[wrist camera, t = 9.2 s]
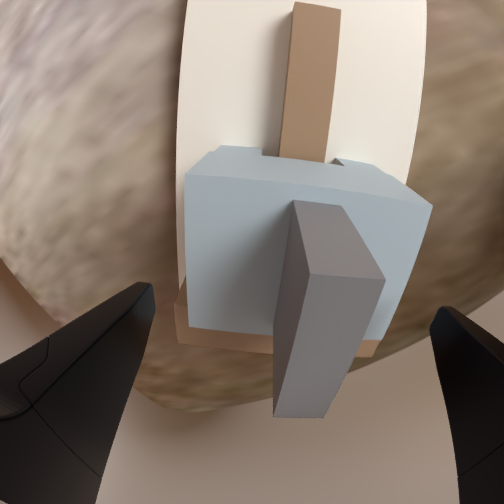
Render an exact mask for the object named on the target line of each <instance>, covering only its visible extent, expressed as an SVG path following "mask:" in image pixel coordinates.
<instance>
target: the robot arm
mask: <svg viewBox="0 0 504 504" xmlns="http://www.w3.org/2000/svg"><path fill="white" fill-rule="evenodd" d="M154 314H155V301H154V293H153V287H152V285H151V284H150V283H146V282H136V283H135V284H133V285H131V286H130V287H128V288H126V289H125V290H123V291H121V292H119V293H118V294H116V295H114V296H113V297H111V298H109V299H108V300H106V301H104V302H103V303H101V304H99V305H98V306H96V307H94V308H93V309H91V310H90V311H88V312H86V313H85V314H83V315H81V316H80V317H78V318H76V319H75V320H73V321H72V322H70V323H68V324H67V325H65V326H64V327H62V328H60V329H59V330H57V331H56V332H54V333H52V334H51V335H49V337H46V338H44V339H43V340H41V341H40V342H38V343H36V344H35V345H33V346H32V347H30V348H28V349H26V350H25V351H23V352H21V353H20V354H18V355H16V356H14V357H12V358H11V359H9V360H7V361H5V362H3V363H1V364H0V504H95V502H96V499H97V495H98V491H99V488H100V484H101V480H102V476H103V473H104V470H105V466H106V463H107V460H108V457H109V453H110V450H111V447H112V444H113V441H114V438H115V435H116V431H117V429H118V426H119V423H120V420H121V417H122V413H123V411H124V408H125V405H126V402H127V399H128V397H129V394H130V391H131V388H132V385H133V383H134V380H135V377H136V375H137V372H138V369H139V367H140V364H141V361H142V358H143V355H144V352H145V348H146V344H147V340H148V336H149V332H150V328H151V325H152V321H153V317H154ZM430 336H431V341H432V346H433V351H434V356H435V362H436V367H437V372H438V376H439V380H440V384H441V388H442V392H443V395H444V400H445V405H446V409H447V414H448V419H449V423H450V429H451V434H452V439H453V446H454V452H455V460H456V467H457V476H458V488H459V502H460V504H504V344H503V343H502V342H501V341H499V340H498V339H497V338H495V337H494V336H493V335H491V334H490V333H489V332H487V331H486V330H484V329H483V328H482V327H480V326H479V325H477V324H476V323H474V322H473V321H472V320H470V319H469V318H467V317H466V316H464V315H463V314H462V313H460V312H459V311H457V310H456V309H454V308H453V307H451V306H442V307H440V308H439V309H438V311H437V313H436V315H435V317H434V319H433V321H432V323H431V325H430Z"/></svg>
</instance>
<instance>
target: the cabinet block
mask: <svg viewBox="0 0 504 504" xmlns="http://www.w3.org/2000/svg"><path fill="white" fill-rule="evenodd" d="M432 207H433V206H432V205H431V204H430V203H428V202H427V201H426V200H425V199H423V198H422V197H421V196H419V195H418V194H417V193H415V192H414V191H413V190H411V189H410V188H409V187H407V186H406V185H404V184H403V183H402V182H400V181H399V180H397V179H396V178H395V177H393V176H392V175H390V174H386V173H385V172H383V171H382V170H380V169H379V168H377V167H376V166H375V165H373V164H369V163H364V162H359V161H353V160H347V159H341V158H335V163H334V164H328V163H321V162H314V161H306V160H299V159H291V158H282V157H273V156H263V155H262V148H255V147H243V146H230V145H220V146H219V147H218V148H217V149H216V150H215V151H214V152H210V151H209V152H208V153H207V154H206V155H205V156H204V157H203V158H201V159H200V160H199V161H198V162H197V163H196V164H195V165H194V166H193V167H192V168H191V169H190V170H189V171H187V172H186V173H185V188H184V211H185V261H186V285H187V304H188V320H189V327H195V328H203V329H211V330H220V331H229V332H238V333H249V334H260V335H272V336H273V417H284V418H323V417H324V416H325V414H326V412H327V410H328V408H329V407H330V405H331V403H332V401H333V399H334V397H335V395H336V394H337V391H338V389H339V388H340V386H341V384H342V382H343V380H344V378H345V376H346V374H347V372H348V370H349V368H350V365H351V363H352V361H353V359H354V357H355V355H356V353H357V350H358V348H359V346H360V344H361V342H362V340H382V339H383V337H384V335H385V333H386V330H387V328H388V326H389V324H390V322H391V320H392V317H393V315H394V313H395V311H396V308H397V306H398V304H399V301H400V299H401V296H402V294H403V292H404V289H405V287H406V284H407V282H408V279H409V276H410V274H411V271H412V269H413V266H414V263H415V260H416V257H417V255H418V252H419V249H420V246H421V243H422V240H423V237H424V234H425V231H426V227H427V224H428V221H429V218H430V214H431V211H432Z"/></svg>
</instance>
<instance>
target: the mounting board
mask: <svg viewBox="0 0 504 504" xmlns="http://www.w3.org/2000/svg"><path fill="white" fill-rule="evenodd" d="M425 48H426V0H188V3H187V11H186V19H185V27H184V36H183V46H182V56H181V68H180V81H179V97H178V116H177V143H176V227H177V256H178V275H179V293H178V295H177V298H176V300H175V302H174V316H175V325H176V335H177V343H178V344H185V345H192V346H199V347H207V348H215V349H224V350H233V351H242V352H253V353H265V354H273V336H272V335H260V334H249V333H238V332H229V331H220V330H211V329H203V328H195V327H189V320H188V304H187V285H186V261H185V211H184V188H185V173H186V172H187V171H189V170H190V169H191V168H192V167H193V166H194V165H195V164H196V163H197V162H198V161H199V160H200V159H201V158H203V157H204V156H205V155H206V154H207V153H208V152H209V151H210V152H214V151H215V150H216V149H217V148H218V147H219V146H220V145H230V146H243V147H255V148H262V155H263V156H273V157H282V158H291V159H299V160H306V161H314V162H321V163H328V164H334V163H335V158H341V159H347V160H353V161H359V162H364V163H369V164H373V165H375V166H376V167H377V168H379V169H380V170H382V171H383V172H385V173H386V174H390V175H392V176H393V177H395V178H396V179H397V180H399V181H400V182H402V183H403V184H404V185H405V184H406V180H407V176H408V171H409V166H410V162H411V157H412V152H413V146H414V141H415V135H416V129H417V123H418V116H419V109H420V102H421V94H422V85H423V75H424V63H425ZM379 342H380V340H362V342H361V344H360V346H359V348H358V350H357V353H356V355H355V357H372V356H373V354H374V352H375V350H376V348H377V346H378V344H379Z"/></svg>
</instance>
